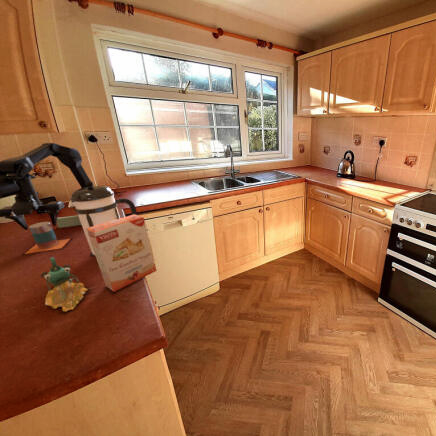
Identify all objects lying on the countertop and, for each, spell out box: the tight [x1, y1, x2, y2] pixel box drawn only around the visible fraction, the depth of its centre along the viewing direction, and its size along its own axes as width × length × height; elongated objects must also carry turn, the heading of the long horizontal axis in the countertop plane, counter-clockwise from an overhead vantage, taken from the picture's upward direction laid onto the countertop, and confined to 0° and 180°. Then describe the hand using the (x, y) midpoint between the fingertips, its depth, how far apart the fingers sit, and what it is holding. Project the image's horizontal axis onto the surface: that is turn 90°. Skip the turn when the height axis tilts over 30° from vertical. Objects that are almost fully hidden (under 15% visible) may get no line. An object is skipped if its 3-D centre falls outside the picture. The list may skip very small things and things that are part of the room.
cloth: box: [24, 238, 71, 255], centre depth 105 cm, size 12×10×1 cm
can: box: [28, 221, 58, 249], centre depth 104 cm, size 6×6×10 cm
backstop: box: [56, 214, 82, 229], centre depth 126 cm, size 12×2×5 cm, turn 113°
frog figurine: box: [40, 256, 88, 312], centre depth 72 cm, size 10×18×15 cm, turn 44°
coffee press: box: [68, 180, 139, 256], centre depth 95 cm, size 17×16×30 cm
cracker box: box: [86, 214, 157, 293], centre depth 78 cm, size 14×6×21 cm, turn 148°
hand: (41, 227), depth 102 cm, fingers open, 9 cm apart
